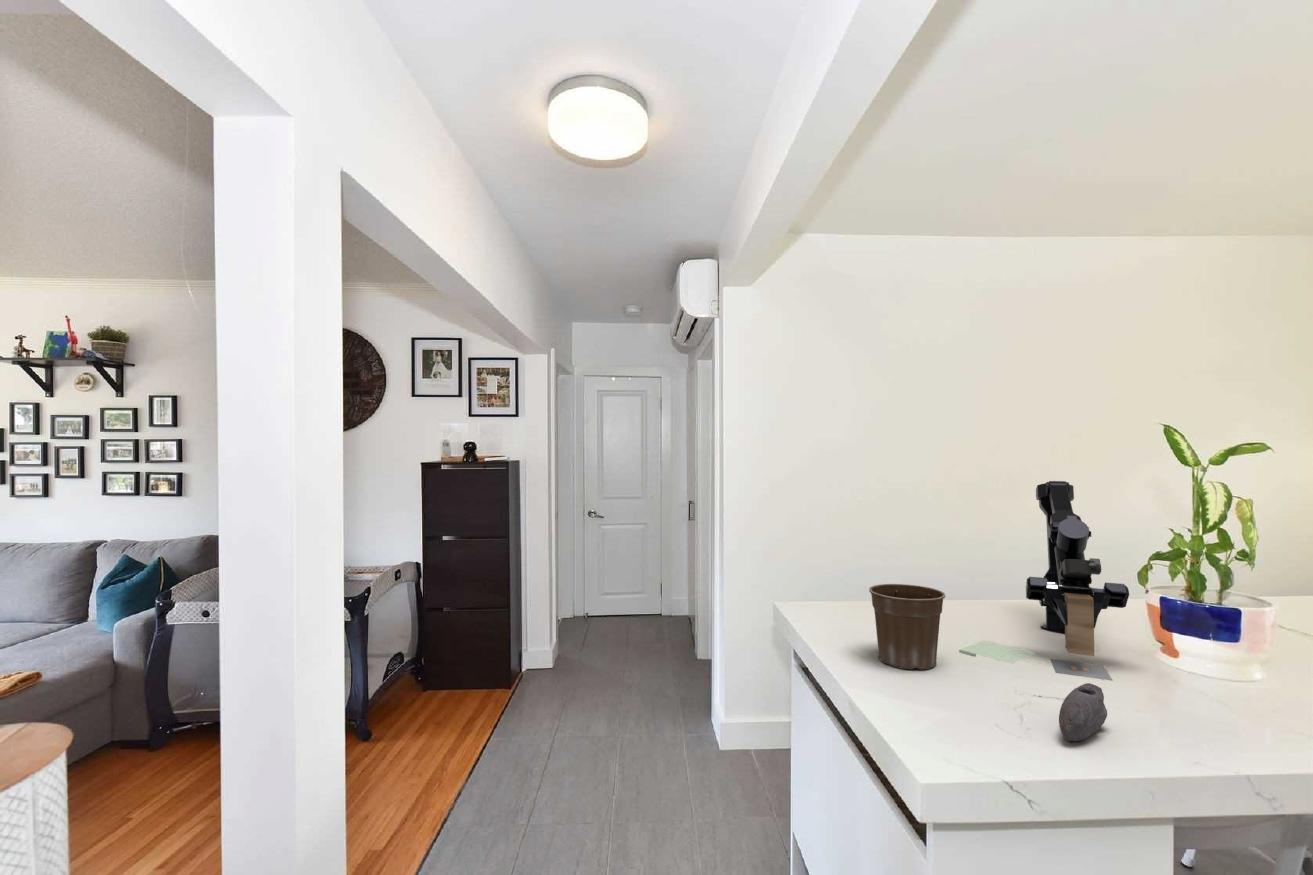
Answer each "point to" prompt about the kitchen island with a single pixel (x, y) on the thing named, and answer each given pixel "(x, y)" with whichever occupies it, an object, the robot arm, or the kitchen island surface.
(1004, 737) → the kitchen island surface
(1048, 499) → the robot arm
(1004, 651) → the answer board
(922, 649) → the plant pot
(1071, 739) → the perforated stone tool
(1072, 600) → the walnut post
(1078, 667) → the plate
